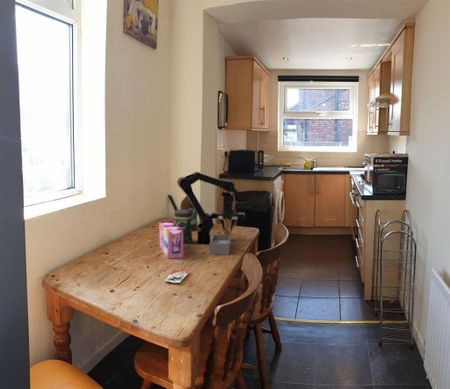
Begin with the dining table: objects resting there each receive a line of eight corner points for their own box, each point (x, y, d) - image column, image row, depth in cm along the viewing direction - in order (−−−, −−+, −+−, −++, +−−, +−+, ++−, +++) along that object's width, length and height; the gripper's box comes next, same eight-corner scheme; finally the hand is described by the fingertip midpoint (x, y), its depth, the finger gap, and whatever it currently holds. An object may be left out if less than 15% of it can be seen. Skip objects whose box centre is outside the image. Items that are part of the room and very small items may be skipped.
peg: (224, 235, 236) (224, 220, 235) (224, 234, 240) (224, 218, 238) (230, 236, 236) (230, 220, 235) (231, 234, 240) (231, 218, 238)
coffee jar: (193, 240, 237) (193, 208, 234) (190, 244, 229) (190, 211, 226) (176, 240, 238) (176, 207, 235) (173, 243, 231) (172, 210, 228)
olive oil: (177, 229, 263) (176, 189, 259) (190, 226, 270) (190, 188, 266) (187, 232, 255) (187, 191, 251) (201, 229, 262) (201, 189, 258)
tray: (209, 253, 213) (209, 243, 212) (212, 244, 231) (212, 234, 230) (228, 254, 213) (228, 243, 212) (230, 244, 230) (230, 234, 229)
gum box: (184, 258, 206) (184, 231, 204) (168, 259, 203) (168, 232, 201) (173, 245, 228) (173, 220, 226) (159, 246, 226) (158, 221, 223)
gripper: (209, 205, 228) (209, 233, 230) (244, 206, 227) (244, 234, 229) (211, 202, 239) (211, 229, 241) (244, 202, 237) (244, 229, 240)
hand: (227, 230), depth 237 cm, fingers closed on peg, 3 cm apart
